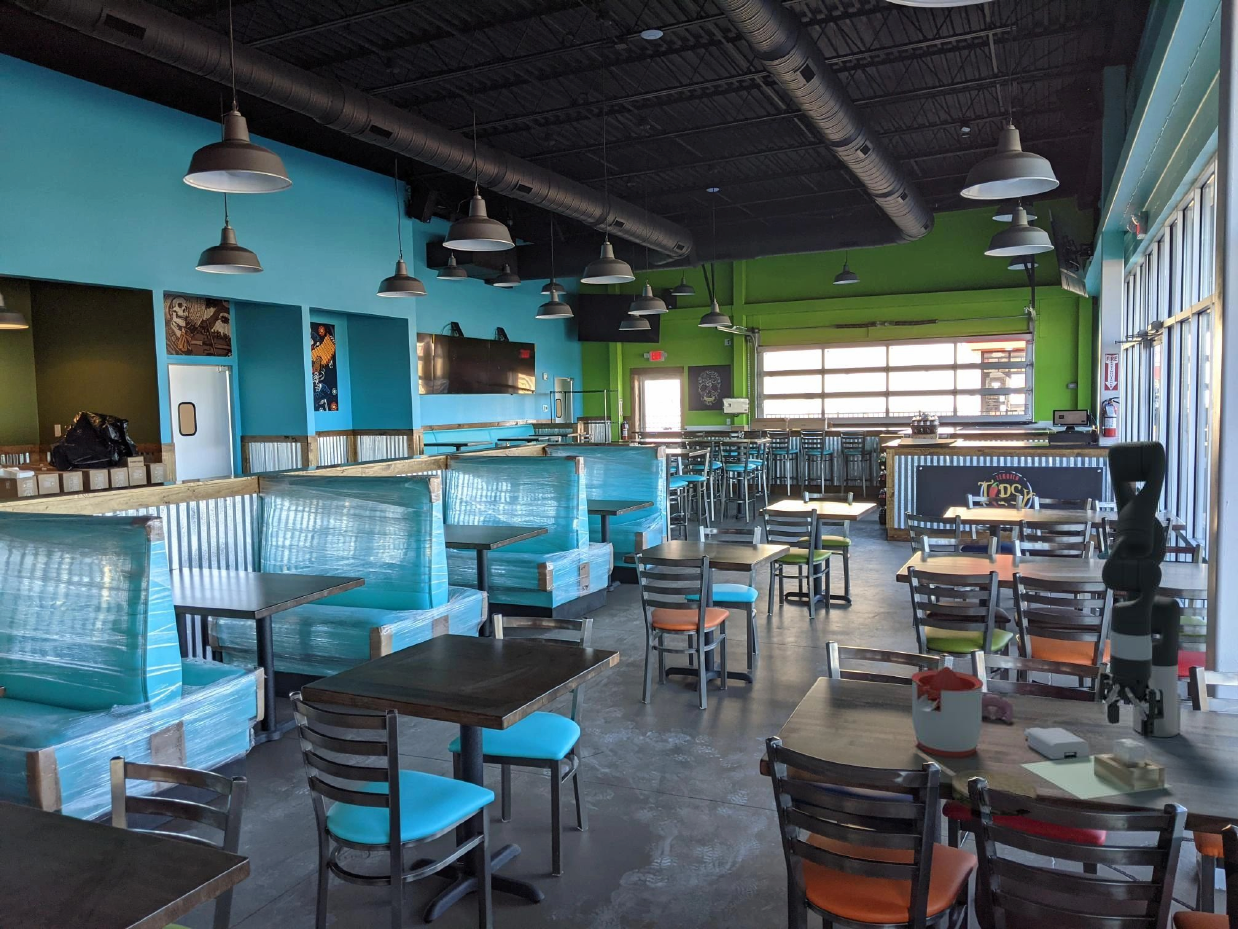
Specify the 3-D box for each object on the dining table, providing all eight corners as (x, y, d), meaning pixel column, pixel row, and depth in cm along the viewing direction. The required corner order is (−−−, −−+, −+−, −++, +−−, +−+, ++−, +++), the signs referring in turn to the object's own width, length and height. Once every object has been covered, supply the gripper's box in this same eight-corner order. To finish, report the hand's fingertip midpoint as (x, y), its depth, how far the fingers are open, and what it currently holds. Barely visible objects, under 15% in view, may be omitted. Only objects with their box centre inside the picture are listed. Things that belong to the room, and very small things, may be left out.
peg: (1129, 775, 183) (1129, 738, 182) (1144, 783, 179) (1144, 745, 179) (1113, 777, 182) (1113, 740, 182) (1128, 785, 178) (1128, 747, 178)
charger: (1046, 737, 208) (1089, 761, 194) (1011, 740, 207) (1051, 764, 192) (1046, 718, 208) (1089, 740, 193) (1011, 720, 207) (1051, 743, 192)
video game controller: (1013, 726, 220) (1014, 699, 223) (1011, 723, 217) (1012, 695, 219) (971, 720, 225) (973, 693, 228) (969, 717, 222) (971, 690, 224)
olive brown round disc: (934, 792, 179) (934, 778, 179) (990, 778, 186) (990, 764, 186) (997, 824, 165) (997, 809, 165) (1055, 807, 171) (1055, 793, 171)
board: (1104, 758, 195) (1104, 754, 195) (1172, 791, 177) (1172, 786, 177) (1020, 769, 189) (1020, 764, 189) (1081, 804, 172) (1082, 799, 172)
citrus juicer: (892, 751, 201) (892, 666, 200) (935, 734, 211) (935, 653, 210) (954, 772, 188) (954, 682, 187) (996, 753, 199) (996, 667, 198)
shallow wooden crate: (1128, 769, 186) (1129, 751, 186) (1164, 786, 177) (1164, 767, 177) (1093, 774, 184) (1094, 755, 184) (1128, 791, 175) (1128, 772, 175)
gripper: (1175, 661, 173) (1173, 740, 174) (1118, 643, 187) (1117, 716, 188) (1144, 664, 171) (1143, 744, 172) (1089, 646, 185) (1088, 720, 186)
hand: (1129, 729), depth 180 cm, fingers open, 8 cm apart
